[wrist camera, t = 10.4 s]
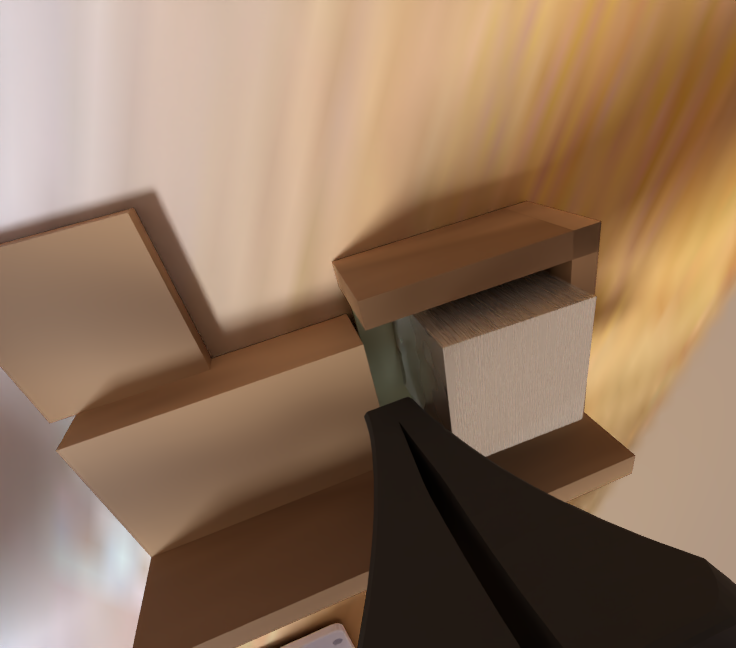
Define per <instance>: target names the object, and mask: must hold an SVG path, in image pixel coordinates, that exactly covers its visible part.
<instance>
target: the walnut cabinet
mask: <svg viewBox="0 0 736 648" xmlns="http://www.w3.org/2000/svg"><path fill="white" fill-rule="evenodd" d="M600 230H601V221H598V220H594V219H591V218H587V217H584V216H580V215H576V214H573V213H569V212H565V211H562V210H558V209H554V208H551V207H547V206H543V205H540V204H536V203H532V202H529V201H525V202H522V203H519V204H516V205H512V206H509V207H506V208H503V209H499V210H496V211H493V212H490V213H487V214H483V215H480V216H477V217H474V218H471V219H467V220H464V221H461V222H458V223H454V224H451V225H448V226H445V227H442V228H438V229H435V230H432V231H429V232H426V233H422V234H419V235H416V236H413V237H409V238H406V239H403V240H400V241H397V242H393V243H390V244H387V245H384V246H381V247H377V248H374V249H371V250H368V251H364V252H361V253H358V254H355V255H352V256H348V257H345V258H342V259H339V260H335V261H332V264H333V267H334V271H335V274H336V278H337V282H338V285H339V287H340V289H341V291H342V292H343V294H344V296H345V297H346V299H347V301H348V302H349V304H350V306H351V308H352V312H353V316H354V320H355V323H356V327H357V331H358V334H359V336H358V334H357V332H356V330H355V328H354V327H353V325H352V323H351V321H350V319H349V318H348V316H347V314H345V315H342V316H339V317H336V318H333V319H330V320H327V321H324V322H321V323H318V324H315V325H312V326H309V327H306V328H303V329H300V330H297V331H293V332H290V333H287V334H284V335H281V336H278V337H275V338H272V339H269V340H266V341H263V342H260V343H257V344H254V345H251V346H248V347H245V348H242V349H239V350H236V351H233V352H230V353H227V354H224V355H221V356H218V357H215V358H212V359H211V357H210V355H209V353H208V351H207V349H206V347H205V345H204V343H203V341H202V339H201V337H200V335H199V333H198V331H197V329H196V328H195V326H194V324H193V322H192V320H191V318H190V316H189V314H188V312H187V310H186V308H185V306H184V304H183V302H182V300H181V298H180V296H179V295H178V293H177V291H176V289H175V287H174V285H173V283H172V281H171V279H170V277H169V275H168V273H167V271H166V269H165V267H164V265H163V264H162V262H161V260H160V258H159V256H158V254H157V252H156V250H155V248H154V246H153V244H152V242H151V240H150V238H149V236H148V234H147V233H146V231H145V229H144V227H143V225H142V223H141V221H140V219H139V217H138V215H137V213H136V211H135V209H134V208H131V209H128V210H124V211H120V212H117V213H113V214H109V215H105V216H102V217H98V218H94V219H91V220H87V221H83V222H80V223H76V224H72V225H69V226H65V227H61V228H57V229H54V230H50V231H46V232H43V233H39V234H35V235H32V236H28V237H24V238H21V239H17V240H13V241H9V242H6V243H2V244H0V367H1V368H2V369H3V370H4V371H5V372H6V373H7V375H8V376H9V377H10V378H11V379H12V380H13V382H14V383H15V384H16V385H17V386H18V387H19V388H20V390H21V391H22V392H23V393H24V394H25V395H26V397H27V398H28V399H29V400H30V401H31V402H32V403H33V405H34V406H35V407H36V408H37V409H38V410H39V412H40V413H41V414H42V415H43V416H44V417H45V419H46V420H47V421H48V422H49V423H52V422H55V421H58V420H61V419H64V418H67V417H70V416H73V415H76V416H75V418H74V420H73V422H72V423H71V425H70V427H69V429H68V430H67V432H66V434H65V436H64V437H63V439H62V441H61V443H60V444H59V446H58V448H57V450H56V452H57V453H58V454H59V455H60V456H61V457H62V458H63V459H64V461H65V462H66V463H67V464H68V465H69V466H70V467H71V468H72V469H73V471H74V472H75V473H76V474H77V475H78V476H79V477H80V478H81V479H82V481H83V482H84V483H85V484H86V485H87V486H88V487H89V488H90V489H91V491H92V492H93V493H94V494H95V495H96V496H97V497H98V498H99V499H100V501H101V502H102V503H103V504H104V505H105V506H106V507H107V508H108V509H109V511H110V512H111V513H112V514H113V515H114V516H115V517H116V518H117V519H118V521H119V522H120V523H121V524H122V525H123V526H124V527H125V528H126V529H127V531H128V532H129V533H130V534H131V535H132V536H133V537H134V538H135V539H136V541H137V542H138V543H139V544H140V545H141V546H142V547H143V548H144V549H145V551H146V552H147V553H148V554H149V555H150V556H151V562H150V567H149V572H148V577H147V582H146V586H145V591H144V596H143V601H142V606H141V610H140V615H139V620H138V625H137V630H136V635H135V639H134V644H133V648H236V647H238V646H241V645H243V644H245V643H247V642H250V641H252V640H254V639H257V638H259V637H261V636H263V635H266V634H268V633H270V632H272V631H275V630H277V629H279V628H282V627H284V626H286V625H288V624H291V623H293V622H295V621H297V620H300V619H302V618H304V617H307V616H309V615H311V614H313V613H316V612H318V611H320V610H322V609H325V608H327V607H329V606H331V605H334V604H336V603H338V602H341V601H343V600H345V599H347V598H350V597H352V596H354V595H356V594H359V593H361V592H363V591H366V590H367V585H368V576H369V567H370V558H371V547H372V534H373V514H374V475H373V460H372V449H371V441H370V435H369V432H368V428H367V425H366V422H365V418H364V415H365V414H366V412H368V411H370V410H373V409H376V408H379V407H381V406H384V405H387V404H389V403H392V402H395V401H397V400H400V399H403V398H405V397H410V398H412V396H411V395H410V393H409V391H408V390H407V388H406V387H405V385H404V381H403V376H402V371H401V365H400V360H399V354H398V349H397V343H396V338H395V333H394V327H393V322H392V321H395V320H398V319H401V318H404V317H407V316H410V315H413V314H416V313H419V312H422V311H424V310H427V309H430V308H433V307H436V306H439V305H442V304H445V303H448V302H451V301H454V300H457V299H460V298H463V297H465V296H468V295H471V294H474V293H477V292H480V291H483V290H486V289H489V288H492V287H495V286H498V285H501V284H504V283H506V282H509V281H512V280H515V279H518V278H521V277H524V276H527V275H530V274H533V273H536V272H539V271H542V270H544V271H546V272H548V273H550V274H552V275H554V276H556V277H558V278H560V279H562V280H564V281H566V282H568V283H570V284H572V285H574V286H576V287H578V288H580V289H582V290H584V291H586V292H589V293H591V294H593V295H595V285H596V274H597V263H598V252H599V241H600ZM586 384H587V383H586ZM585 395H586V392H585ZM412 399H413V398H412ZM584 406H585V400H584ZM486 457H487V458H488V459H490V460H491V461H493V462H494V463H496V464H497V465H499V466H500V467H502V468H504V469H505V470H507V471H509V472H510V473H512V474H514V475H515V476H517V477H519V478H521V479H522V480H524V481H526V482H528V483H529V484H531V485H533V486H535V487H537V488H539V489H540V490H542V491H544V492H546V493H548V494H550V495H552V496H554V497H556V498H558V499H560V500H562V501H564V502H568V501H570V500H572V499H575V498H577V497H579V496H581V495H584V494H586V493H588V492H590V491H593V490H595V489H597V488H600V487H602V486H604V485H606V484H609V483H611V482H613V481H615V480H618V479H620V478H622V477H625V476H627V475H629V474H631V473H632V469H633V464H634V459H635V455H634V454H633V453H632V452H630V451H629V450H628V449H627V448H626V447H624V446H623V445H622V444H621V443H620V442H619V441H617V440H616V439H615V438H614V437H613V436H611V435H610V434H609V433H608V432H607V431H606V430H604V429H603V428H602V427H601V426H600V425H598V424H597V423H596V422H595V421H594V420H593V419H591V418H590V417H589V416H588V415H587V414H585V413H584V409H583V417H582V419H581V420H578V421H576V422H573V423H571V424H568V425H566V426H563V427H560V428H558V429H555V430H553V431H550V432H548V433H545V434H542V435H540V436H537V437H535V438H532V439H530V440H527V441H525V442H522V443H519V444H517V445H514V446H512V447H509V448H507V449H504V450H501V451H499V452H496V453H494V454H491V455H489V456H486Z"/></svg>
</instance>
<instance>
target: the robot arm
mask: <svg viewBox="0 0 736 648" xmlns="http://www.w3.org/2000/svg"><path fill="white" fill-rule="evenodd" d="M364 418H365V422H366V425H367V428H368V432H369V435H370V441H371V449H372V460H373V475H374V514H373V534H372V547H371V558H370V567H369V576H368V585H367V592H366V599H365V606H364V612H363V618H362V624H361V629H360V635H359V641H358V647H357V648H736V584H735V583H733V582H732V581H731V580H730V579H729V578H728V577H727V576H725V575H724V574H723V573H721V572H720V571H719V570H717V569H716V568H715V567H714V566H713V565H711V564H710V563H709V562H708V561H707V560H706V559H704V558H701V557H699V556H696V555H693V554H690V553H687V552H685V551H682V550H679V549H676V548H673V547H671V546H668V545H665V544H662V543H659V542H657V541H654V540H652V539H649V538H646V537H644V536H641V535H638V534H636V533H634V532H631V531H629V530H627V529H624V528H622V527H619V526H617V525H614V524H612V523H610V522H607V521H605V520H603V519H600V518H598V517H596V516H594V515H592V514H590V513H588V512H585V511H583V510H581V509H579V508H577V507H575V506H573V505H570V504H568V503H566V502H564V501H562V500H560V499H558V498H556V497H554V496H552V495H550V494H548V493H546V492H544V491H542V490H540V489H539V488H537V487H535V486H533V485H531V484H529V483H528V482H526V481H524V480H522V479H521V478H519V477H517V476H515V475H514V474H512V473H510V472H509V471H507V470H505V469H504V468H502V467H500V466H499V465H497V464H496V463H494V462H493V461H491V460H490V459H488V458H487V457H485V456H484V455H482V454H481V453H479V452H478V451H476V450H475V449H473V448H472V447H471V446H469V445H468V444H466V443H465V442H464V441H462V440H461V439H460V438H458V437H457V436H456V435H454V434H453V433H452V432H450V431H449V430H448V429H446V428H445V427H444V426H443V425H441V424H440V423H439V422H438V421H437V420H435V419H434V418H433V417H432V416H431V415H429V414H428V413H427V412H426V411H425V410H424V409H423V408H422V407H420V406H419V405H418V404H417V403H416V402H415V401H414V400H413V399H412V398H410V397H405V398H403V399H400V400H397V401H395V402H392V403H389V404H387V405H384V406H381V407H379V408H376V409H373V410H370V411H368V412H366V414H365V415H364ZM280 648H355V647H354V645H353V643H352V641H351V639H350V638H349V636H348V634H347V632H346V630H345V628H344V626H343V625H342V624H340V623H334V624H331V625H329V626H327V627H325V628H322V629H320V630H318V631H316V632H313V633H311V634H309V635H307V636H304V637H302V638H300V639H298V640H296V641H293V642H291V643H289V644H287V645H284V646H282V647H280Z"/></svg>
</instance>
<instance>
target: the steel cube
mask: <svg viewBox="0 0 736 648" xmlns="http://www.w3.org/2000/svg"><path fill="white" fill-rule="evenodd" d="M596 297H597V296H595V295H593V294H591V293H589V292H586V291H584V290H582V289H580V288H578V287H576V286H574V285H572V284H570V283H568V282H566V281H564V280H562V279H560V278H558V277H556V276H554V275H552V274H550V273H548V272H546V271H544V270H542V271H539V272H536V273H533V274H530V275H527V276H524V277H521V278H518V279H515V280H512V281H509V282H506V283H504V284H501V285H498V286H495V287H492V288H489V289H486V290H483V291H480V292H477V293H474V294H471V295H468V296H465V297H463V298H460V299H457V300H454V301H451V302H448V303H445V304H442V305H439V306H436V307H433V308H430V309H427V310H424V311H422V312H419V313H416V314H413V315H410V316H407V317H404V318H401V319H398V320H395V321H392V322H393V327H394V333H395V338H396V343H397V349H398V354H399V360H400V365H401V371H402V376H403V381H404V385H405V387H406V388H407V390H408V391H409V393H410V395H411V396H412V398H413V400H414V401H415V402H416V403H417V404H418V405H419V406H420V407H422V408H423V409H424V410H425V411H426V412H427V413H428V414H429V415H431V416H432V417H433V418H434V419H435V420H437V421H438V422H439V423H440V424H441V425H443V426H444V427H445V428H446V429H448V430H449V431H450V432H452V433H453V434H454V435H456V436H457V437H458V438H460V439H461V440H462V441H464V442H465V443H466V444H468V445H469V446H471V447H472V448H473V449H475V450H476V451H478V452H479V453H481V454H482V455H484V456H485V457H486V456H489V455H491V454H494V453H496V452H499V451H501V450H504V449H507V448H509V447H512V446H514V445H517V444H519V443H522V442H525V441H527V440H530V439H532V438H535V437H537V436H540V435H542V434H545V433H548V432H550V431H553V430H555V429H558V428H560V427H563V426H566V425H568V424H571V423H573V422H576V421H578V420H581V419H582V417H583V409H584V400H585V392H586V383H587V374H588V366H589V357H590V349H591V340H592V331H593V323H594V314H595V306H596Z"/></svg>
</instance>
